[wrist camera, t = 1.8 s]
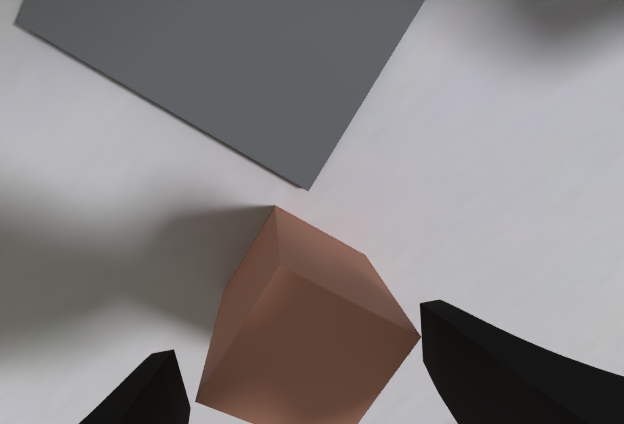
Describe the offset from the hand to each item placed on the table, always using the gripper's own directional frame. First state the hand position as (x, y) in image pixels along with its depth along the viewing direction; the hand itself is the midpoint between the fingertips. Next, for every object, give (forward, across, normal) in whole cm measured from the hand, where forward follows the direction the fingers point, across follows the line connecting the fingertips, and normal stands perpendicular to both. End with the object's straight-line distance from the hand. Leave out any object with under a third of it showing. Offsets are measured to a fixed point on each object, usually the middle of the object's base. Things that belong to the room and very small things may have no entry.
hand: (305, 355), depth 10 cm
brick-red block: (+5, 0, 0) cm, 5 cm away
